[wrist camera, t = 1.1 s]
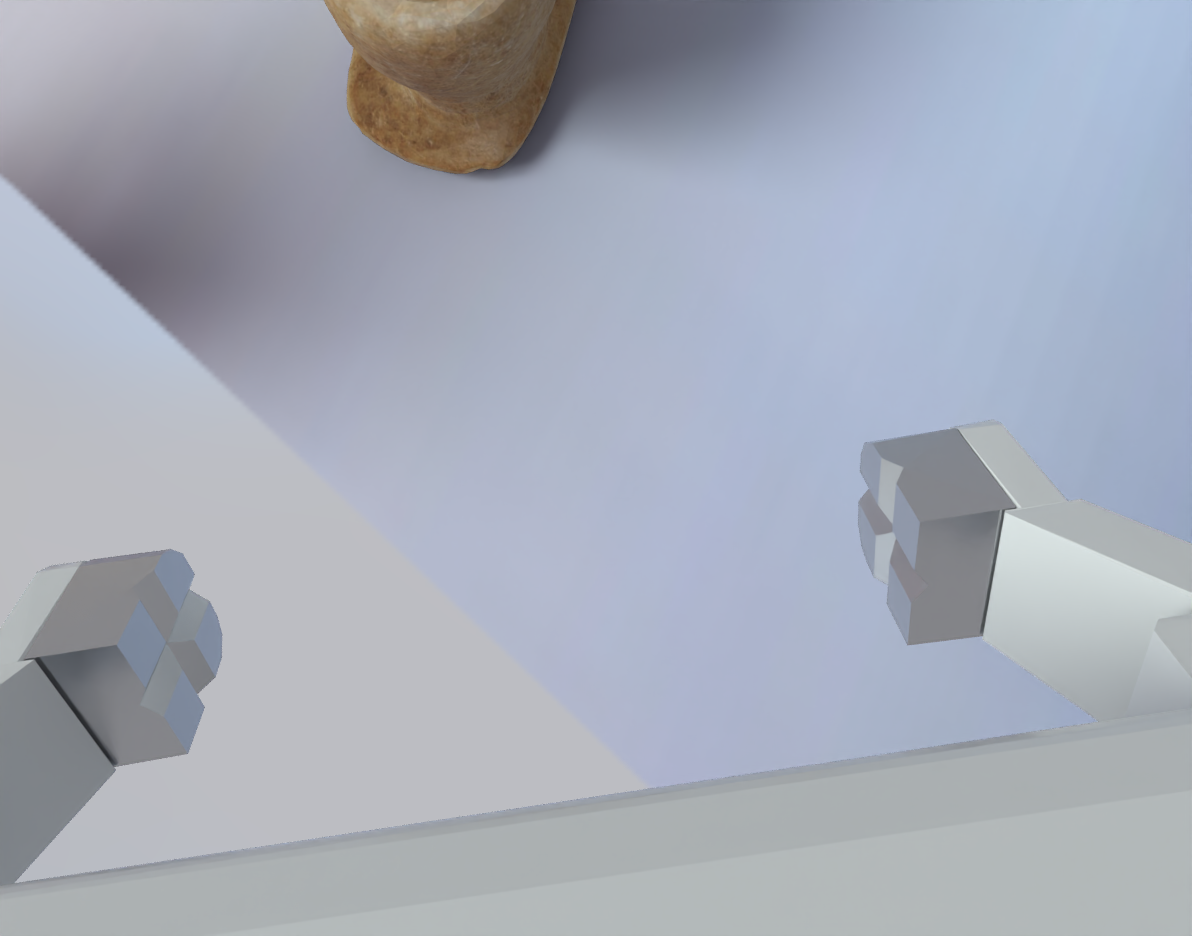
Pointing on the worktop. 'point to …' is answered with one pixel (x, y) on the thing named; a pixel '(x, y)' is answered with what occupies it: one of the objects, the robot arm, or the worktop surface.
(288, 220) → the worktop surface
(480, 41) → the brown boot
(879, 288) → the worktop surface
